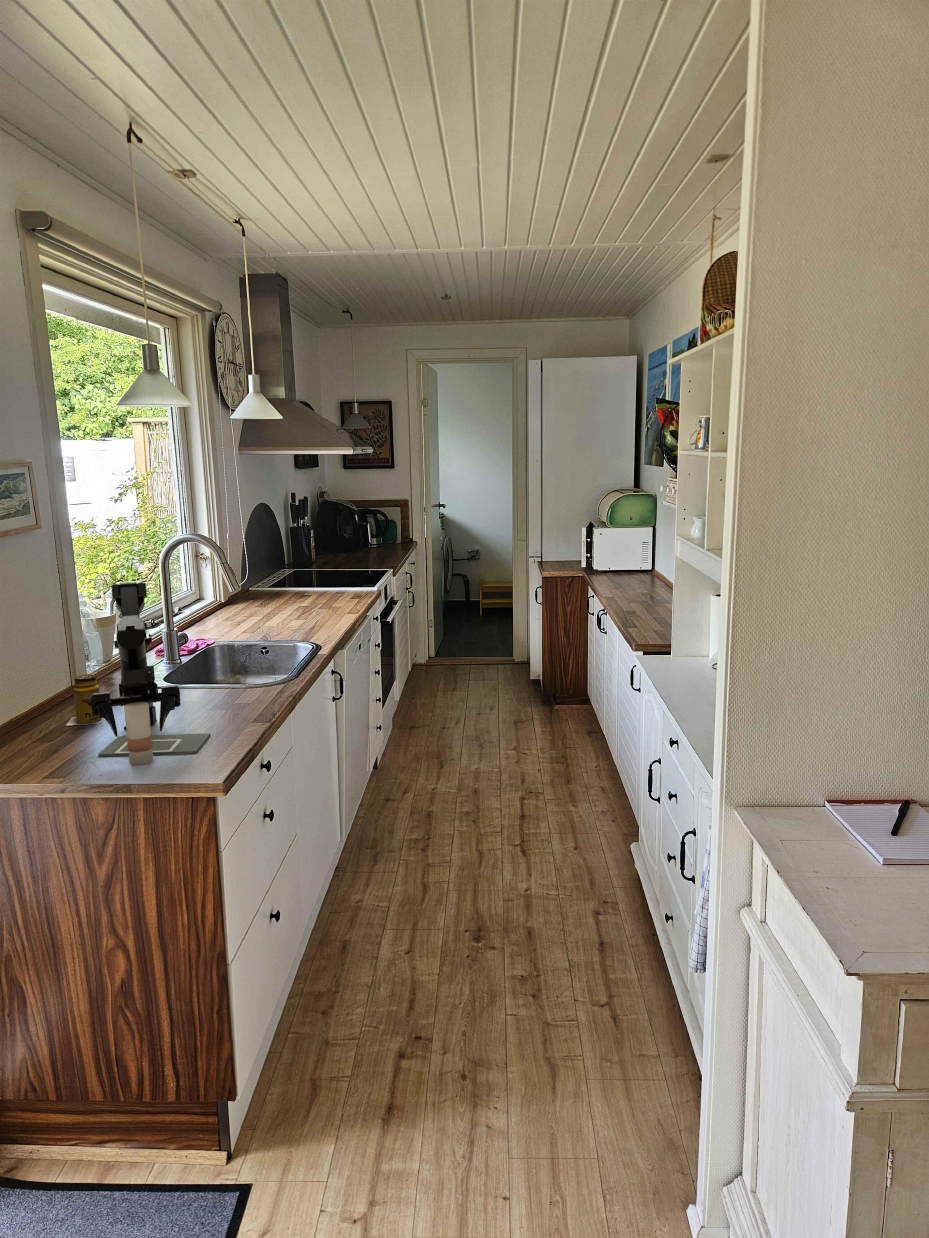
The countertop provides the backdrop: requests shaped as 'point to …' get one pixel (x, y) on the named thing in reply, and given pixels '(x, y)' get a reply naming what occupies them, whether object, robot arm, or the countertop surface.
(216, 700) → the countertop surface
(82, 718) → the condiment
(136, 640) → the robot arm
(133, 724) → the player figure
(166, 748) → the mat
